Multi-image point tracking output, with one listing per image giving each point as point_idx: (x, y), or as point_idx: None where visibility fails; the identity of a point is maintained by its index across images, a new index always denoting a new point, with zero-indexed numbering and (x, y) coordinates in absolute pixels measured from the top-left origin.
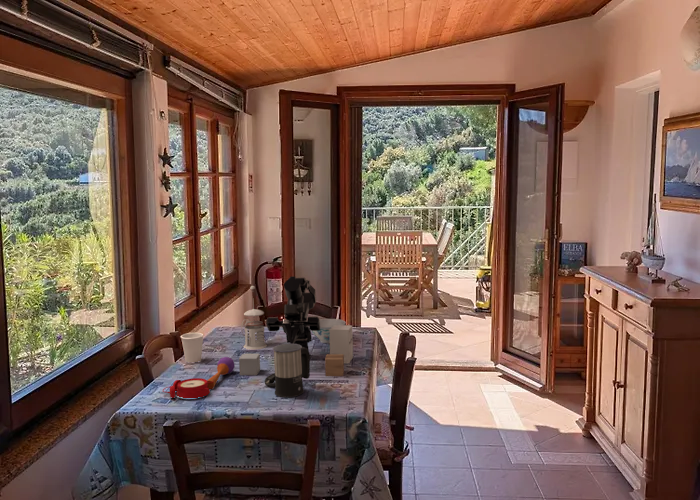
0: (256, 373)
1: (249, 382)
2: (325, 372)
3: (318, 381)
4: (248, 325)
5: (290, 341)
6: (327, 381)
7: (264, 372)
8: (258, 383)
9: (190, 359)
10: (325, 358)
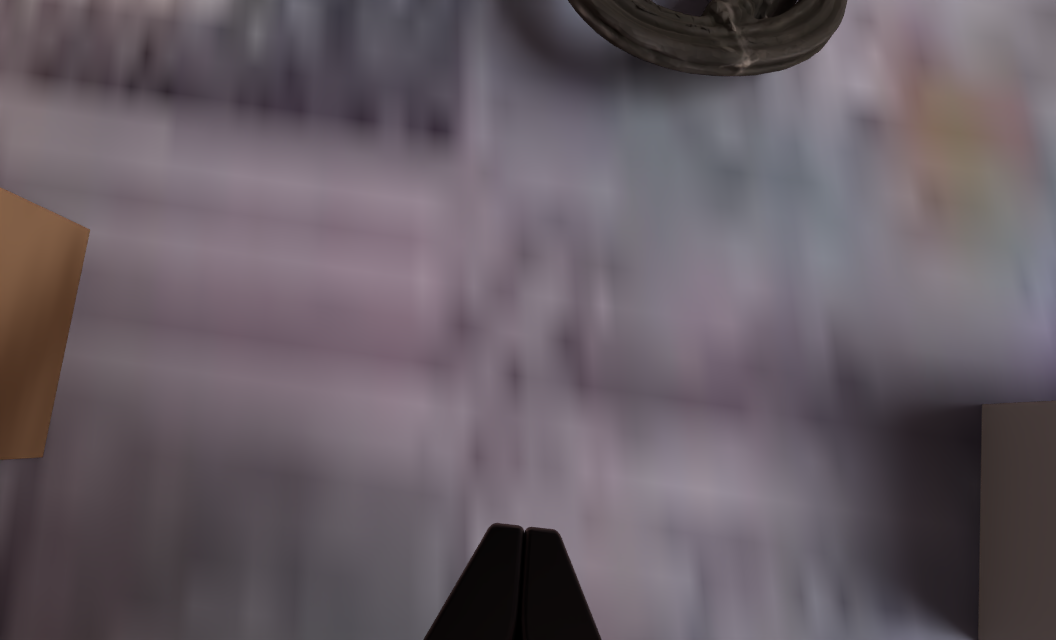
0: (1001, 405)
1: (1018, 132)
2: (58, 215)
3: (195, 51)
4: None
5: (558, 580)
6: (88, 35)
7: (899, 507)
8: (904, 82)
9: None
10: None
